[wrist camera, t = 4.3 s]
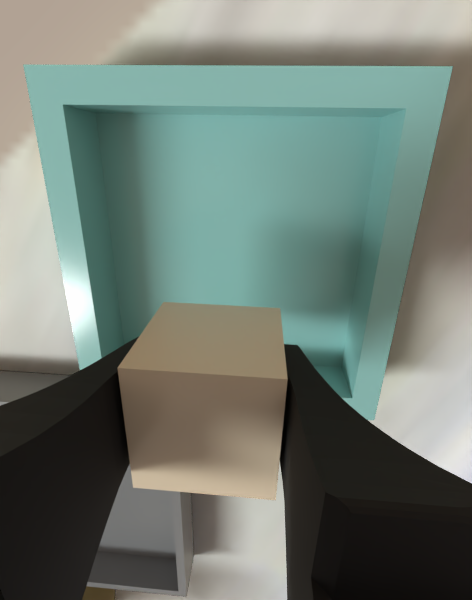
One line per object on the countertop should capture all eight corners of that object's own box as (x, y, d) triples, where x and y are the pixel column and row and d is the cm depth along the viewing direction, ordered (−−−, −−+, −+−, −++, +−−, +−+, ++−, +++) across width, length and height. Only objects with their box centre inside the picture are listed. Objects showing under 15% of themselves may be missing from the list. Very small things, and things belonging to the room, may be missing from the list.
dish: (412, 86, 13) (452, 66, 10) (357, 379, 18) (374, 420, 15) (72, 83, 14) (23, 64, 11) (111, 364, 19) (85, 400, 16)
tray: (186, 382, 19) (175, 414, 16) (193, 555, 25) (186, 596, 22) (-102, 364, 20) (-150, 390, 18) (-30, 533, 26) (-59, 570, 23)
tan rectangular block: (280, 308, 11) (287, 378, 8) (272, 403, 13) (275, 500, 9) (163, 302, 12) (117, 368, 8) (169, 396, 13) (133, 487, 10)
